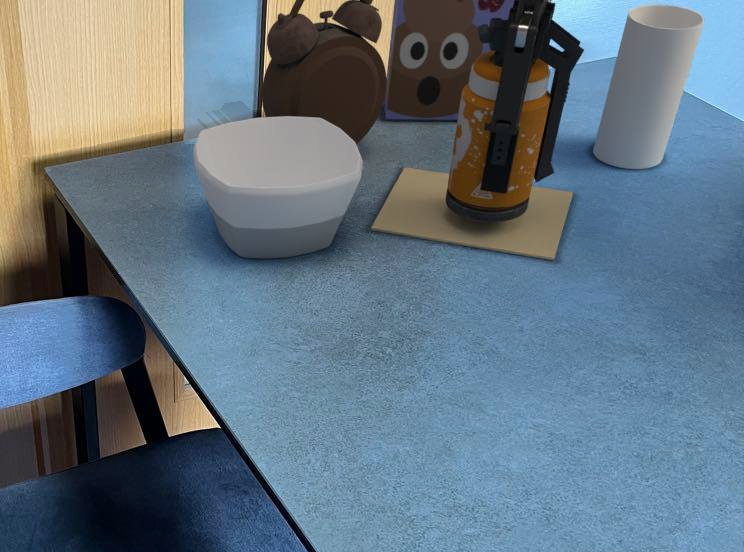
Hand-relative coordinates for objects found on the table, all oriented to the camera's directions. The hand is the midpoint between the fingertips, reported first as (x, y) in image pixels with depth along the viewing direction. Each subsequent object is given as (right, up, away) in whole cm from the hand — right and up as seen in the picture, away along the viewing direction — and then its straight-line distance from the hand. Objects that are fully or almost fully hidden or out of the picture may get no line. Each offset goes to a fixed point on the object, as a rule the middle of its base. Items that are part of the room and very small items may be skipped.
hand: (501, 170), depth 112 cm
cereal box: (+1, +16, +25) cm, 30 cm away
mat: (-1, -3, +6) cm, 6 cm away
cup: (+20, +7, +16) cm, 27 cm away
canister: (0, -3, +3) cm, 5 cm away
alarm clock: (-18, +8, +17) cm, 26 cm away
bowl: (-24, -6, +3) cm, 25 cm away
